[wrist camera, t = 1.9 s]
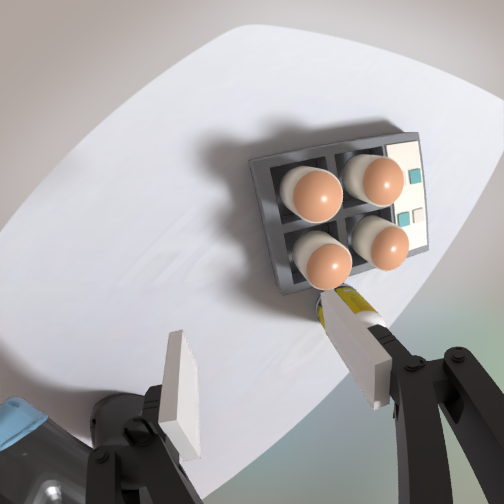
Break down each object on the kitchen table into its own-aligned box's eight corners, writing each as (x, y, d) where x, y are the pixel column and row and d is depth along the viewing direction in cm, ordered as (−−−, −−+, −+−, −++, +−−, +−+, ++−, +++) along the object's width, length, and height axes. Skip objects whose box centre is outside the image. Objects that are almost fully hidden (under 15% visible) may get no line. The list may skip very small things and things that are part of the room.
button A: (296, 278, 36) (309, 297, 31) (288, 236, 34) (301, 250, 30) (338, 266, 36) (355, 283, 32) (332, 225, 34) (350, 237, 30)
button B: (284, 218, 34) (297, 229, 29) (275, 171, 32) (286, 175, 27) (329, 207, 34) (347, 217, 29) (321, 161, 32) (339, 164, 28)
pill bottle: (324, 277, 40) (363, 321, 29) (364, 287, 41) (408, 329, 31) (307, 320, 41) (337, 372, 31) (346, 328, 43) (382, 376, 32)
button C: (353, 262, 36) (372, 277, 32) (348, 220, 35) (368, 232, 30) (389, 251, 37) (411, 264, 32) (386, 211, 35) (409, 220, 30)
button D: (346, 203, 34) (366, 212, 29) (338, 158, 32) (358, 160, 28) (384, 194, 34) (407, 201, 30) (378, 150, 33) (401, 152, 28)
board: (276, 285, 39) (283, 297, 36) (248, 160, 34) (253, 161, 31) (416, 243, 40) (430, 251, 37) (404, 132, 35) (420, 132, 32)
